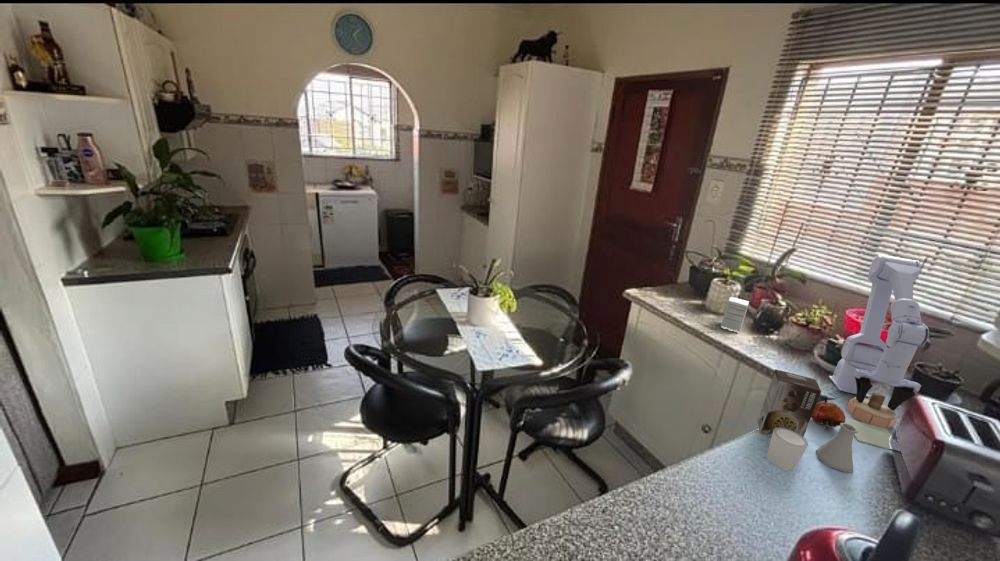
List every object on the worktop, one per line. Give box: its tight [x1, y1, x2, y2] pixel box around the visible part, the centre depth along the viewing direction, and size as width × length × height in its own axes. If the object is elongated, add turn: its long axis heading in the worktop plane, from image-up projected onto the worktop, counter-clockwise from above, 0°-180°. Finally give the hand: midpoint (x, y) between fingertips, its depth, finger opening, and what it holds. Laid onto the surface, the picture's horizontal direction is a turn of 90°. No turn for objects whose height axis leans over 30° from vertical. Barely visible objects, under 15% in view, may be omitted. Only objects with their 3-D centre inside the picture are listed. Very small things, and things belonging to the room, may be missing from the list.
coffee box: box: [757, 369, 822, 438], centre depth 105 cm, size 9×6×16 cm
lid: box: [852, 392, 896, 419], centre depth 118 cm, size 9×9×4 cm
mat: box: [845, 417, 892, 450], centre depth 111 cm, size 10×10×1 cm
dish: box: [845, 398, 898, 430], centre depth 119 cm, size 10×10×3 cm
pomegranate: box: [811, 398, 846, 434], centre depth 112 cm, size 7×7×10 cm
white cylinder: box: [767, 428, 809, 471], centre depth 96 cm, size 7×7×7 cm
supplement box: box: [720, 296, 750, 332], centre depth 172 cm, size 7×7×13 cm
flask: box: [815, 423, 858, 473], centre depth 97 cm, size 7×7×10 cm
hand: (874, 404), depth 118 cm, fingers open, 7 cm apart
